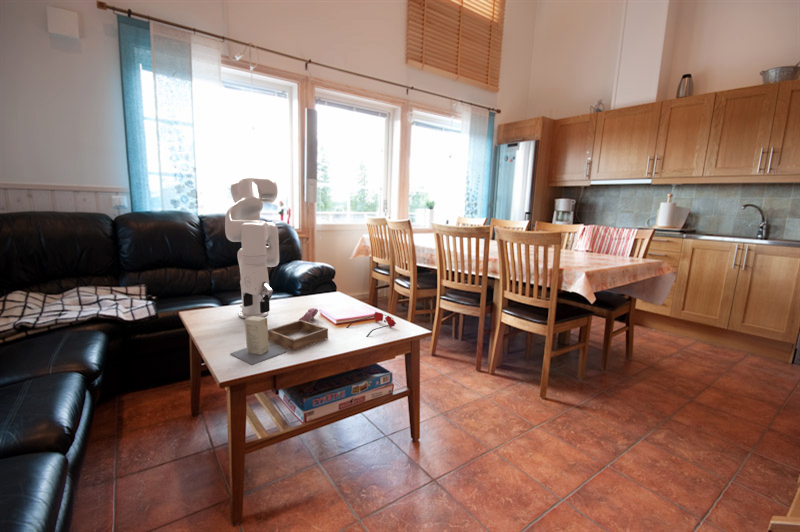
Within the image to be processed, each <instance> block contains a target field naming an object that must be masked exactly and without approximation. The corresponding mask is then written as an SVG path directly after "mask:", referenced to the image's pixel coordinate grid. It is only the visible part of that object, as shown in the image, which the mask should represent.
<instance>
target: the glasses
mask: <svg viewBox="0 0 800 532" xmlns="http://www.w3.org/2000/svg"><path fill="white" fill-rule="evenodd" d="M384 316H385V317H384ZM370 318H374V320H375V322H380V321H381V322H382V321H383V322H384V323H385V324H386V325H383V326H380V327H376V328H373V329H371V330H370V332H368V333H367V335H366V338H368V337H369V336H370V335H371V333H372V332H373V331H376V330H378V329H383V328H386V327H390V328H392V327H395V326H396V325H397V322H396V321H395V320H394V318H393V317H391V316H390V315H386V314H384V313H380V312H378V311H375V312H374V314H373V315H371V316H369V317H364V318H360V319H357V320H353V321H352V322H351V323H349V324H348V325H347V326H346V329H348V328H349V327H350V326H351V325H352V324H353V323H356V322H358V321H362V320H365V319H370ZM384 319H385V320H384Z"/></svg>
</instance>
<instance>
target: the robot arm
mask: <svg viewBox="0 0 800 532" xmlns="http://www.w3.org/2000/svg"><path fill="white" fill-rule="evenodd" d="M230 193H231V196H232V200H233V202H234V204H232V205H231V206H230V207H229V208H228V210H227V211H226V213H225V218H224V230H225V231H224V232H225V236H226V239H227V240H228V241H230V242H233V243H236V242H237V243H238V242H239V243H241V248H239V250H238V251H237V256H236V257H237V262H238V265H239V273H240V281H239V284H240V285H239V286H240V291H241V304H240V305H239V308H241V311H239V313H238V317H239V318H242V319H247V318H249V317H252V316H258V317H267V316H268V315H269V312H270V311H271V310H270V309H271V308H270V306H271V305H270V301H271V299H272V297H273V296H272V295H273V289H272V287H270V280H269V272H268V271H269V270H268V268H272V267H273V268H274V267H277V266H278V265H279V263H280V239H279V228H278V226H277V224H276V223H274V222H272V221H271V222H270V221H265V220H261V214H260V213H261V211H262V210H263V208H264V204H272V203H274V202H275V200H276V199H277V197H278V186H277V183H276V181H275V180H274V179H273V178H270V177H258V176H245V177H242V178H240V179H239V181H235V182H233V183H232V184H231V185H230Z"/></svg>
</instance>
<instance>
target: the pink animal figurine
mask: <svg viewBox="0 0 800 532" xmlns="http://www.w3.org/2000/svg"><path fill="white" fill-rule="evenodd" d="M318 313H319V310H318V309H317V308H314V307H311V308H309V309H308V310H307V311H306V312H305V313H304V314H303V315H302V316H301V317H300V318H299V319H298V320H297V321H299V320H303V321H306V322H309V323H311V322H310V321H313V320H314V318H315V316H317V314H318Z"/></svg>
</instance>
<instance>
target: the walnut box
mask: <svg viewBox="0 0 800 532" xmlns="http://www.w3.org/2000/svg"><path fill="white" fill-rule="evenodd" d="M298 320H299V319H298ZM298 320H296V321H293V322H289V323H286V324H283V325H279V326H276V327H273V328H270V329H269V328H268V341H269V342H270V343H274V344H275V345H278V346H280V347H283V348H285V349H288V350H290V349H291V351H293V352H295V351H298V349H299V350H301V349H305V348H306V346H307V347H309V346H312V345H314V344H317V343H319V342H322V341H324V340H326V339H329V336H328V335H329V331H328V330H329V329H328V328H327V327H324V326H321V325H319V324H315V323H312V322H306V321H303V320H299V321H298ZM299 331H300V332H301V331H302V332H305V333H308V334H305V335H303V336H300V337H296V338H293V337H290V336H288V335H291V334H294V333H296V332H299Z"/></svg>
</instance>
